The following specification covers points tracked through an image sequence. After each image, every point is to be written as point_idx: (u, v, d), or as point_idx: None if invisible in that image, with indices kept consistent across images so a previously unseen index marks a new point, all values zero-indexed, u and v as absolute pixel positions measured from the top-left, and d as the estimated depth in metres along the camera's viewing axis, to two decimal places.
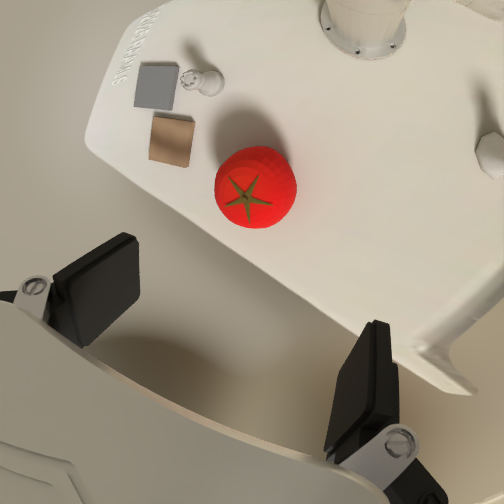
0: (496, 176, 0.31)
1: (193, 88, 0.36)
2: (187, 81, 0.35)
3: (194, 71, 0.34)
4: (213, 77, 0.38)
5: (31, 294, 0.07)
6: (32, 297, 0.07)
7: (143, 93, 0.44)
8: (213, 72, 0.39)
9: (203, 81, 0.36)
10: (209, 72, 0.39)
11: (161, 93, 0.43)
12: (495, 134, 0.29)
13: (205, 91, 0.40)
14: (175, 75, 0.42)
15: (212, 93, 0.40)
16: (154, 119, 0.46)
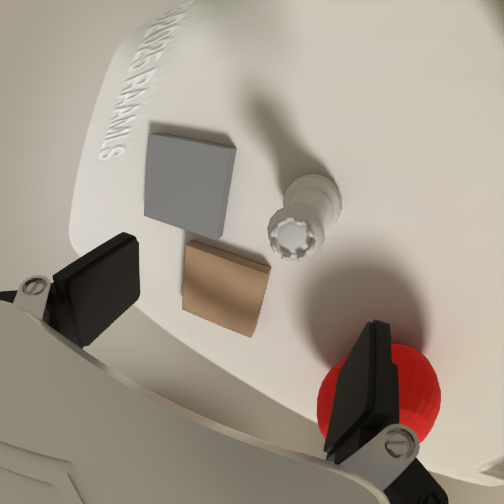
0: None
1: None
2: (288, 242, 0.16)
3: (308, 217, 0.15)
4: (328, 203, 0.19)
5: (31, 294, 0.07)
6: (32, 297, 0.07)
7: (161, 194, 0.25)
8: (325, 186, 0.20)
9: None
10: (317, 186, 0.20)
11: (200, 204, 0.24)
12: None
13: None
14: (229, 168, 0.23)
15: None
16: (188, 250, 0.27)
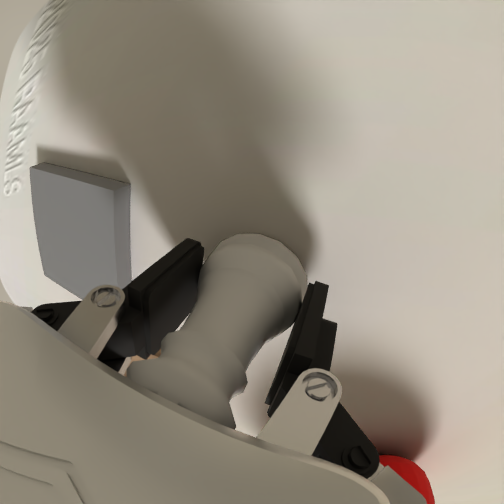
0: None
1: None
2: None
3: (188, 398, 0.06)
4: (272, 305, 0.10)
5: (100, 304, 0.08)
6: (99, 308, 0.07)
7: (52, 251, 0.16)
8: (269, 265, 0.10)
9: (239, 388, 0.08)
10: (252, 267, 0.10)
11: (93, 272, 0.15)
12: None
13: None
14: (119, 221, 0.13)
15: None
16: None
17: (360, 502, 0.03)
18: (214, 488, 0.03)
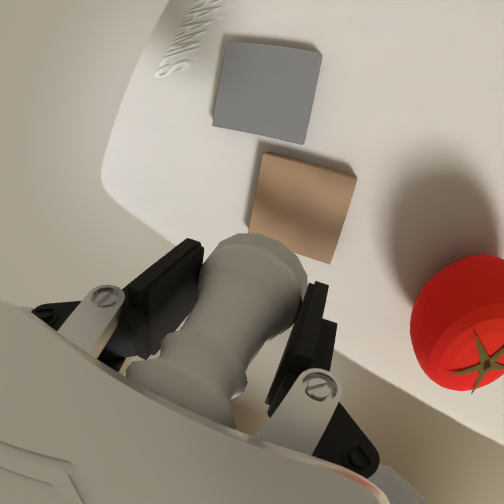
0: None
1: None
2: None
3: (188, 398, 0.06)
4: (272, 305, 0.10)
5: (100, 304, 0.08)
6: (99, 308, 0.07)
7: (237, 99, 0.22)
8: (270, 265, 0.10)
9: (240, 388, 0.08)
10: (252, 267, 0.10)
11: (285, 106, 0.21)
12: None
13: None
14: (317, 71, 0.20)
15: None
16: (265, 159, 0.24)
17: (360, 502, 0.03)
18: (214, 488, 0.03)
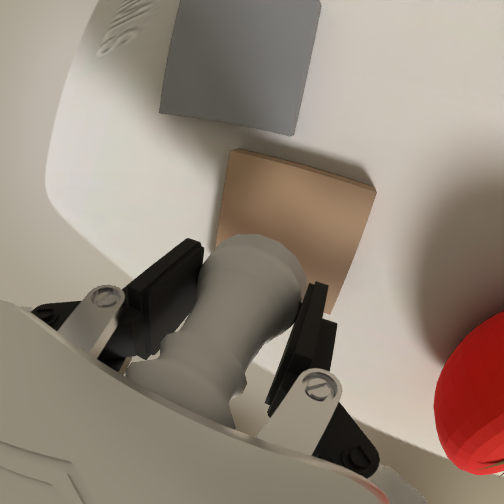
0: None
1: None
2: None
3: (187, 399, 0.06)
4: (272, 306, 0.10)
5: (100, 304, 0.08)
6: (99, 308, 0.07)
7: (193, 72, 0.14)
8: (269, 266, 0.10)
9: (239, 389, 0.08)
10: (252, 268, 0.10)
11: (264, 77, 0.13)
12: None
13: None
14: (314, 25, 0.11)
15: None
16: (234, 159, 0.15)
17: (360, 502, 0.03)
18: (214, 488, 0.03)
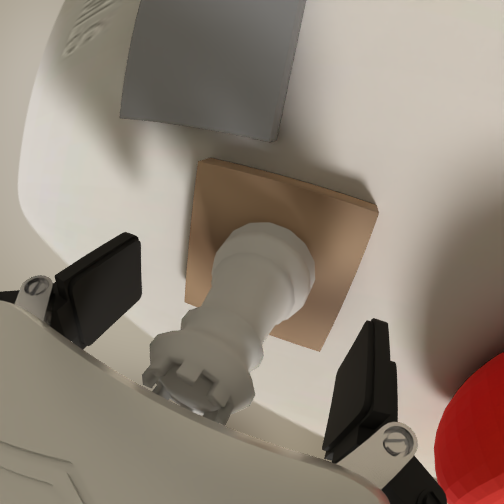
0: None
1: None
2: (182, 397, 0.07)
3: (212, 364, 0.07)
4: (284, 286, 0.11)
5: (33, 294, 0.07)
6: (34, 297, 0.07)
7: (155, 67, 0.11)
8: (281, 250, 0.11)
9: (256, 361, 0.08)
10: (265, 252, 0.11)
11: (238, 69, 0.10)
12: None
13: None
14: (300, 5, 0.09)
15: None
16: (203, 172, 0.13)
17: (360, 502, 0.03)
18: (214, 488, 0.03)
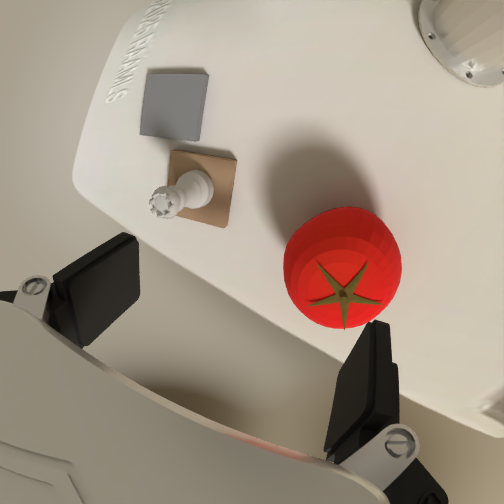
0: None
1: (170, 217, 0.28)
2: (160, 207, 0.27)
3: (168, 191, 0.26)
4: (196, 186, 0.30)
5: (31, 294, 0.07)
6: (32, 297, 0.07)
7: (154, 115, 0.31)
8: (197, 176, 0.31)
9: (183, 201, 0.28)
10: (191, 176, 0.31)
11: (183, 116, 0.30)
12: None
13: (188, 206, 0.32)
14: (203, 88, 0.29)
15: (198, 207, 0.32)
16: (173, 154, 0.33)
17: (360, 502, 0.03)
18: (214, 488, 0.03)
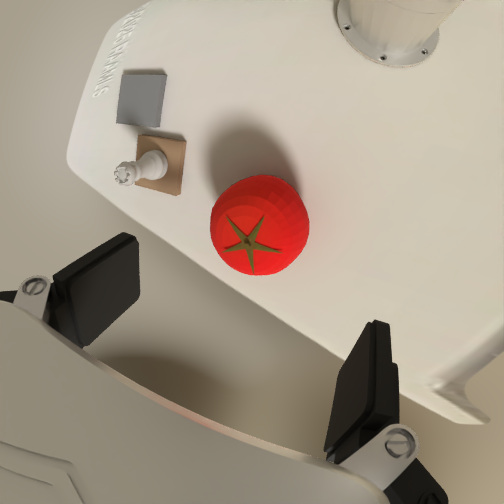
0: None
1: (128, 184, 0.35)
2: (121, 177, 0.34)
3: (127, 165, 0.33)
4: (152, 162, 0.37)
5: (31, 294, 0.07)
6: (32, 297, 0.07)
7: (126, 107, 0.38)
8: (154, 154, 0.38)
9: (139, 173, 0.35)
10: (149, 154, 0.38)
11: (147, 107, 0.37)
12: None
13: (147, 177, 0.39)
14: (162, 85, 0.35)
15: (155, 178, 0.39)
16: (139, 138, 0.39)
17: (360, 502, 0.03)
18: (214, 488, 0.03)
